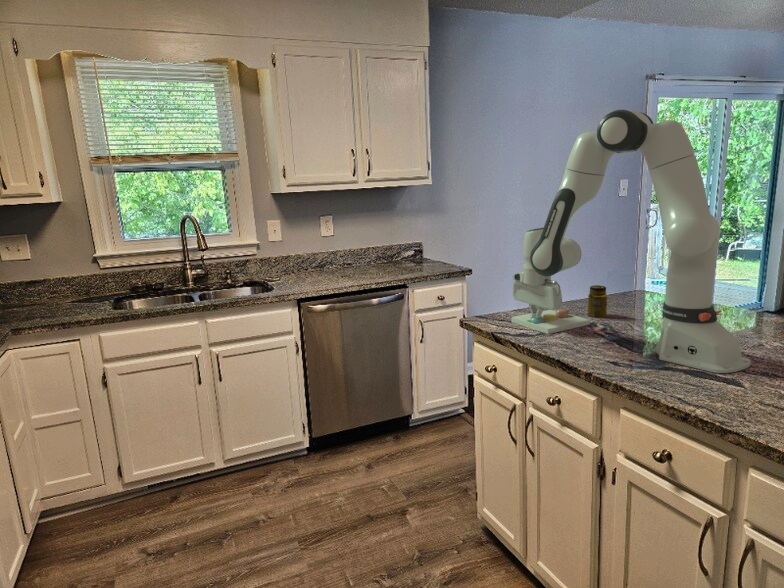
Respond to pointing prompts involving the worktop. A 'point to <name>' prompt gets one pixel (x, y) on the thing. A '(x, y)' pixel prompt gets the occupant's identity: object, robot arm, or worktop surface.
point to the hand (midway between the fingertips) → (536, 317)
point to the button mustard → (549, 317)
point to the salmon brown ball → (562, 313)
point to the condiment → (597, 302)
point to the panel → (551, 322)
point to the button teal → (537, 320)
